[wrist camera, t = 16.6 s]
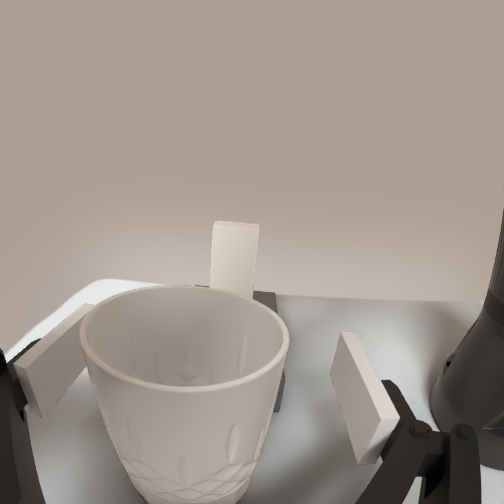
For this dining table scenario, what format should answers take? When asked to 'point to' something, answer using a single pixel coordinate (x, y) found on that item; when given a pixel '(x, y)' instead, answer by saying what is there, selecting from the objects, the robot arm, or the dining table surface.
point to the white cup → (185, 387)
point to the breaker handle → (234, 257)
